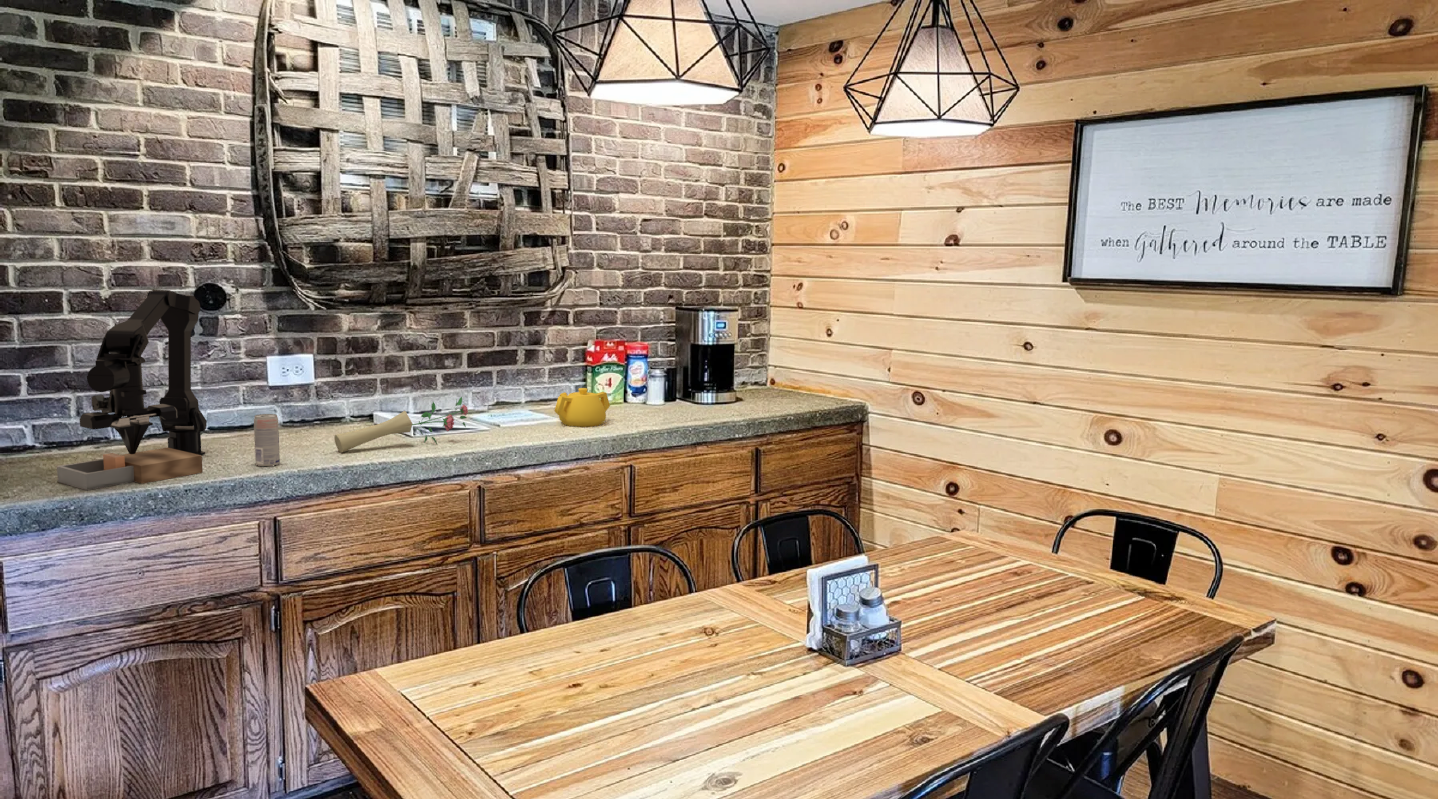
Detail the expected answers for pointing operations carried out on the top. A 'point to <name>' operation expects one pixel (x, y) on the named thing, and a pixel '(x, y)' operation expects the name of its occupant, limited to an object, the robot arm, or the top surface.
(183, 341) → the robot arm
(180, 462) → the walnut board
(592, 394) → the teapot
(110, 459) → the terracotta tile
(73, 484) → the box
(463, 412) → the flower vase
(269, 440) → the energy drink
